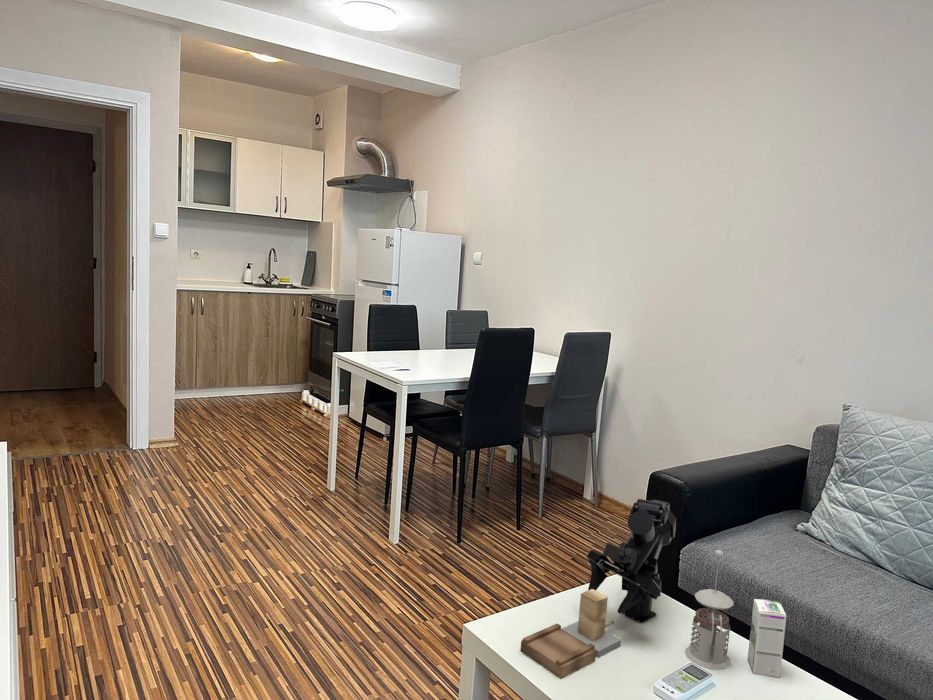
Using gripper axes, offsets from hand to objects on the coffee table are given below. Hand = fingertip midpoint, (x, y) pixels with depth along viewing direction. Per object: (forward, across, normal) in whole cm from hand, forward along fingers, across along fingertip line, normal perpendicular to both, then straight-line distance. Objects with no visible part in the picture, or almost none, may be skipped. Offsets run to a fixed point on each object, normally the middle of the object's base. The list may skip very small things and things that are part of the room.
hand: (603, 603), depth 156 cm
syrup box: (-9, +29, +20) cm, 36 cm away
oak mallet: (+5, +1, +3) cm, 6 cm away
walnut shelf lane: (+16, +1, -6) cm, 17 cm away
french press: (-4, +20, +15) cm, 25 cm away
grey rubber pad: (+8, +1, +2) cm, 9 cm away
